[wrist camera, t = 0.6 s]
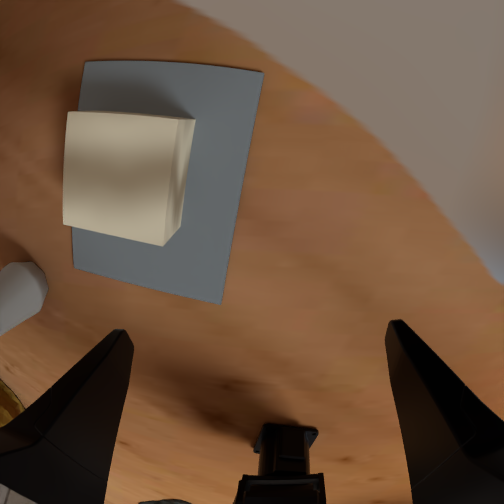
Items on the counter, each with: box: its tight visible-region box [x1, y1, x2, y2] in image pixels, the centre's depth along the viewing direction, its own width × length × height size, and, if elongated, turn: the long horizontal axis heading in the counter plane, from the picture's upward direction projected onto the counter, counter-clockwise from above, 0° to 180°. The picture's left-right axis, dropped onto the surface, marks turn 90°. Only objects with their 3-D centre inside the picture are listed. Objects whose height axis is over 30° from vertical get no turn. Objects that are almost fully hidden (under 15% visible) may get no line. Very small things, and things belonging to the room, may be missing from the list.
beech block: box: [63, 111, 196, 246], centre depth 20 cm, size 8×8×4 cm
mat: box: [72, 61, 264, 305], centre depth 23 cm, size 18×14×1 cm
